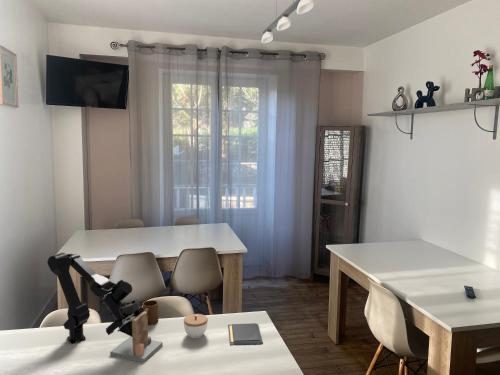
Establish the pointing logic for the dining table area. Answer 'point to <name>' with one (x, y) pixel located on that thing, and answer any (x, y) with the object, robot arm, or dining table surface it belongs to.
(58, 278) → the robot arm
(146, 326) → the brown wooden panel
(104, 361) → the dining table surface
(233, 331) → the grey book
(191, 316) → the lidded jar
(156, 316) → the mug
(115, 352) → the board
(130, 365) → the dining table surface
